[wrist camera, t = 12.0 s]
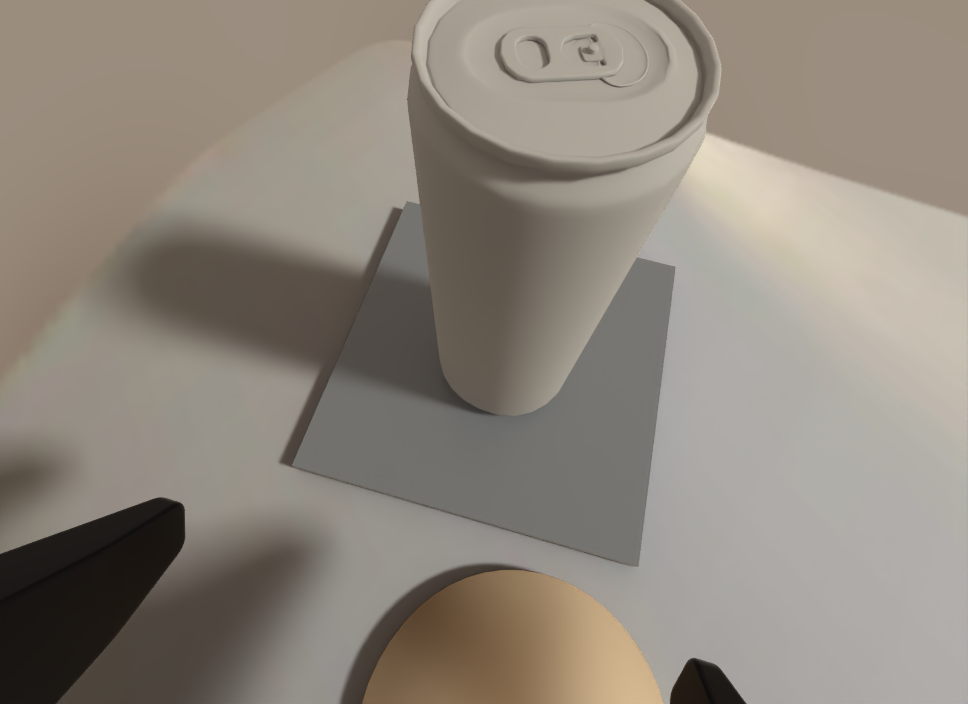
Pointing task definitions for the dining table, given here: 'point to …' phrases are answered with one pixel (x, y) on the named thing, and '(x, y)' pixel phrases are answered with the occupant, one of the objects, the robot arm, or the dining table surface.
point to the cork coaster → (512, 648)
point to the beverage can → (545, 172)
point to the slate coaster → (497, 438)
